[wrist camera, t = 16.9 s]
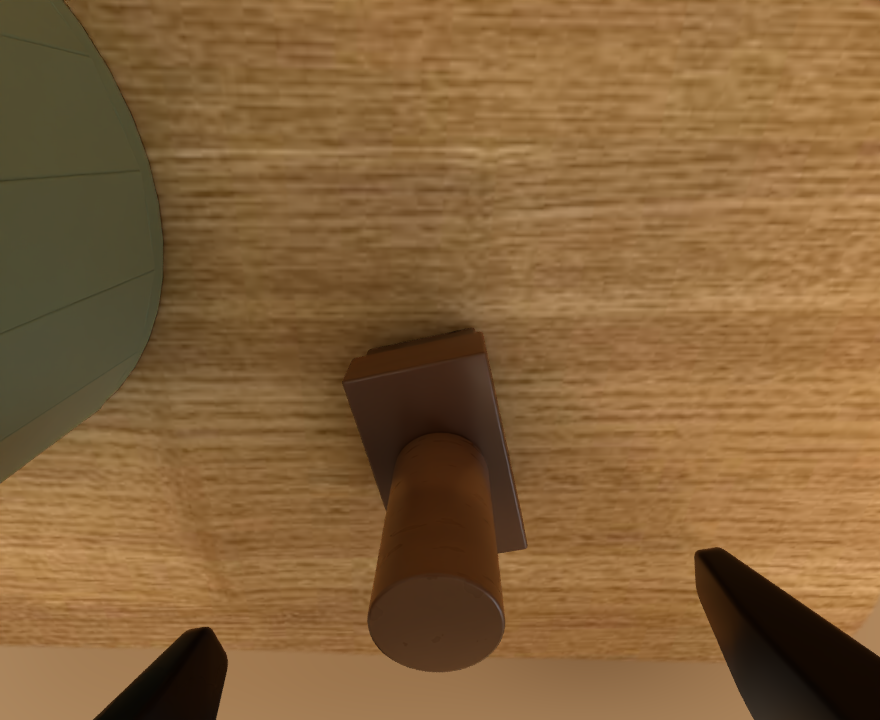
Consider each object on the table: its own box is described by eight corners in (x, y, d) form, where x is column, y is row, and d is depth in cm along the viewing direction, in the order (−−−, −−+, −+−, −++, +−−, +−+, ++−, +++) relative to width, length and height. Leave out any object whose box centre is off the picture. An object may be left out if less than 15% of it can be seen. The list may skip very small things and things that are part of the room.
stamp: (517, 491, 16) (560, 723, 10) (411, 510, 16) (385, 744, 10) (480, 317, 14) (504, 467, 7) (358, 344, 14) (280, 508, 8)
